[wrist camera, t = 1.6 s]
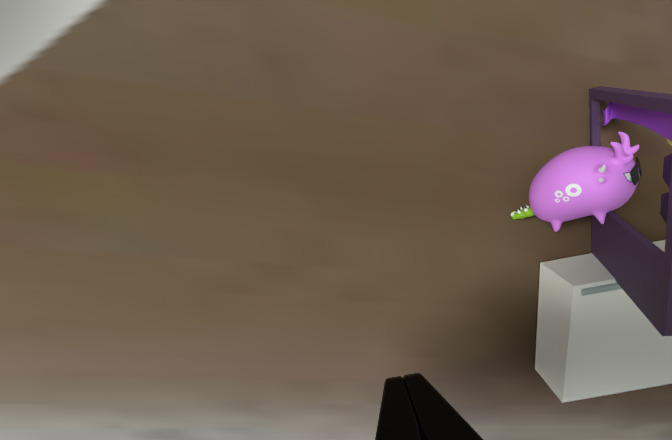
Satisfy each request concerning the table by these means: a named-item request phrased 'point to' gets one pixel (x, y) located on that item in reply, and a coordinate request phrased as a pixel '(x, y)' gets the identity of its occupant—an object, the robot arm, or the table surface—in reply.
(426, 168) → the table surface
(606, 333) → the slab
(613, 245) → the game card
